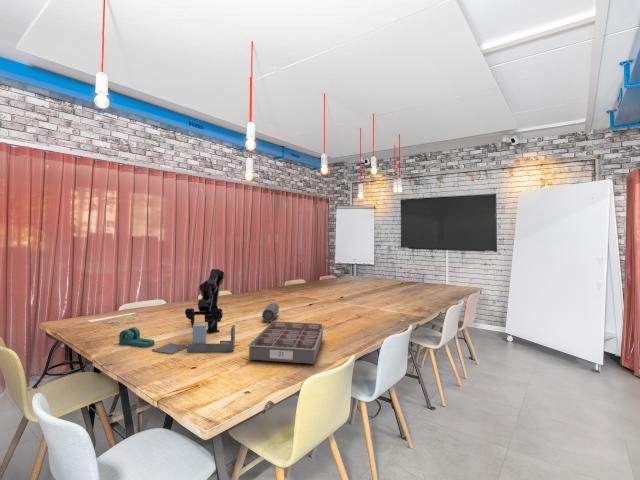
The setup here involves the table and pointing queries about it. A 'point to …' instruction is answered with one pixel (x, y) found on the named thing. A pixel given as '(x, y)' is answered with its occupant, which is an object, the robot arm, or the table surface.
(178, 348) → the rubber mat
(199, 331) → the pale blue-grey block
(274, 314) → the bluetooth speaker
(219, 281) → the robot arm
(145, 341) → the bracket
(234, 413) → the table surface
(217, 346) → the board rack
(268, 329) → the organizer tray
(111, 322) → the printed paper
